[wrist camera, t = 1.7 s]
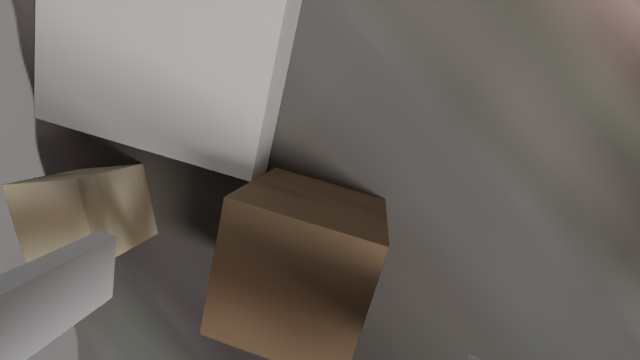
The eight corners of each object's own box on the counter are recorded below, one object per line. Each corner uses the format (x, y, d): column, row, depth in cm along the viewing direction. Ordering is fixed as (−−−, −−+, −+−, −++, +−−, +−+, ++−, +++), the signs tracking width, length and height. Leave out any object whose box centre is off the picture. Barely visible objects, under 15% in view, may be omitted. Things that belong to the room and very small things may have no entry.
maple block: (158, 233, 22) (99, 266, 18) (99, 235, 23) (27, 267, 19) (143, 163, 22) (76, 179, 17) (81, 168, 22) (1, 184, 18)
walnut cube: (353, 296, 21) (342, 385, 14) (254, 264, 22) (199, 334, 15) (385, 198, 19) (389, 247, 12) (275, 167, 20) (224, 196, 13)
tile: (266, 173, 20) (250, 181, 18) (72, 116, 22) (34, 117, 19) (319, -83, 16) (309, -116, 14) (83, -128, 18) (37, -165, 16)
